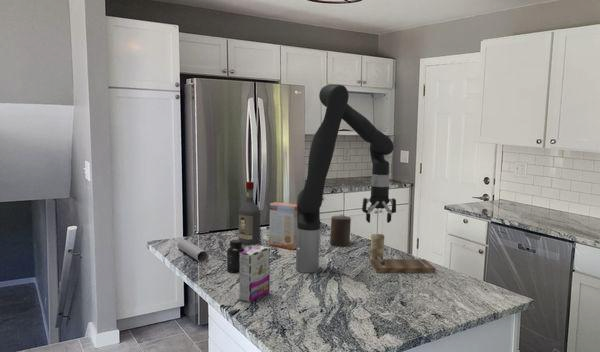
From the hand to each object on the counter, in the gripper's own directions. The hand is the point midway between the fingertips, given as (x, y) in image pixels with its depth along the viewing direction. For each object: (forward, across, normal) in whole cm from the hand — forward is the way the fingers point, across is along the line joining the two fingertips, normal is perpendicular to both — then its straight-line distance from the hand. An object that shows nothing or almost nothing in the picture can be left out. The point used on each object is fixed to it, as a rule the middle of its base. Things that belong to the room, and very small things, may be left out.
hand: (378, 222), depth 199 cm
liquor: (+18, -56, +32) cm, 67 cm away
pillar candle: (+18, -11, +30) cm, 37 cm away
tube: (+18, -81, +10) cm, 83 cm away
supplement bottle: (+18, -60, -11) cm, 64 cm away
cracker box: (+18, -39, +25) cm, 50 cm away
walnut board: (+18, +9, -8) cm, 21 cm away
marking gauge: (+18, 0, -5) cm, 18 cm away
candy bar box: (+18, -52, -39) cm, 67 cm away
